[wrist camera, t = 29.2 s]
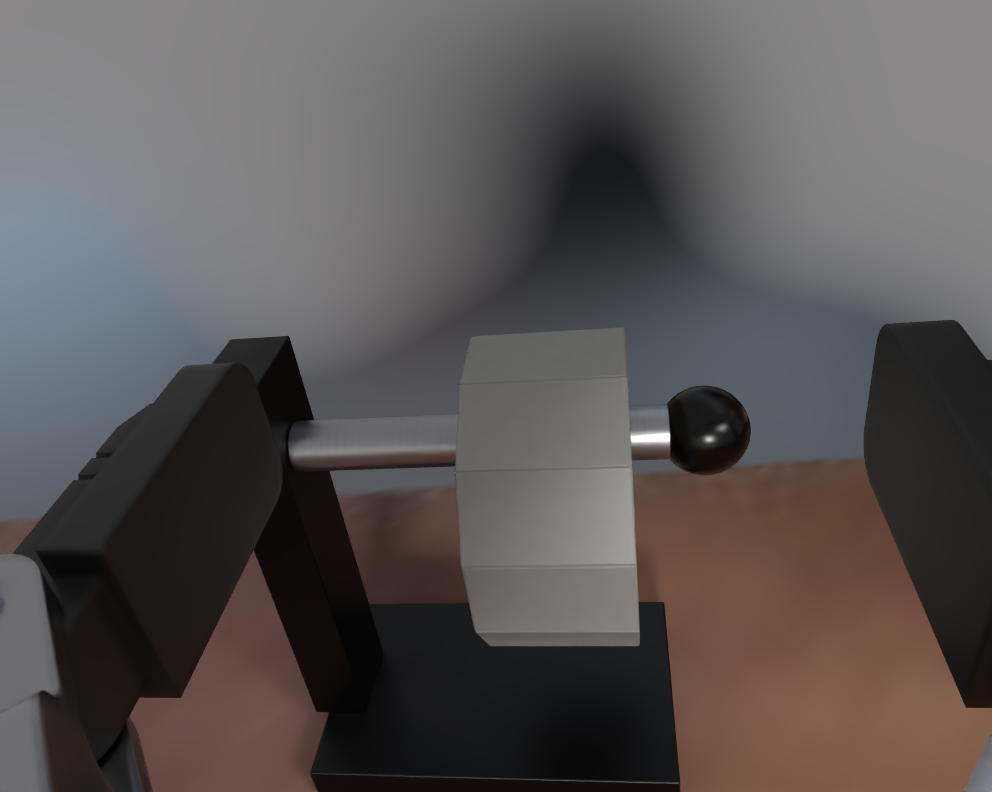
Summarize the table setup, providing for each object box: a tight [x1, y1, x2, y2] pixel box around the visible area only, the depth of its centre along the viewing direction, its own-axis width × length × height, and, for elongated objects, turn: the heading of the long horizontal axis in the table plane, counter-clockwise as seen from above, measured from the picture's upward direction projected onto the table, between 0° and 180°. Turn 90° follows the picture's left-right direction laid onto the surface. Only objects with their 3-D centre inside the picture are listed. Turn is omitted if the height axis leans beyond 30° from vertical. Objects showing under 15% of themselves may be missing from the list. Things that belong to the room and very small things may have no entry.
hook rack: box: [212, 336, 751, 792], centre depth 28 cm, size 16×8×16 cm, turn 84°
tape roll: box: [455, 328, 640, 646], centre depth 26 cm, size 5×10×10 cm, turn 174°
